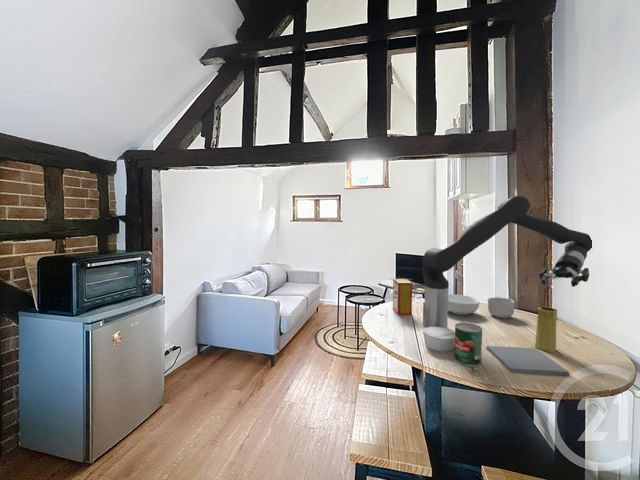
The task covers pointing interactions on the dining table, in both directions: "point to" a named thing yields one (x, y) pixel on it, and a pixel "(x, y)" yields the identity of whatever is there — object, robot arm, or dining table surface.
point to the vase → (546, 329)
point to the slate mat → (526, 360)
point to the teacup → (501, 307)
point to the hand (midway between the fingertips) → (557, 283)
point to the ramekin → (439, 338)
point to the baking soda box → (402, 296)
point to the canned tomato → (468, 344)
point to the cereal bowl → (462, 304)
